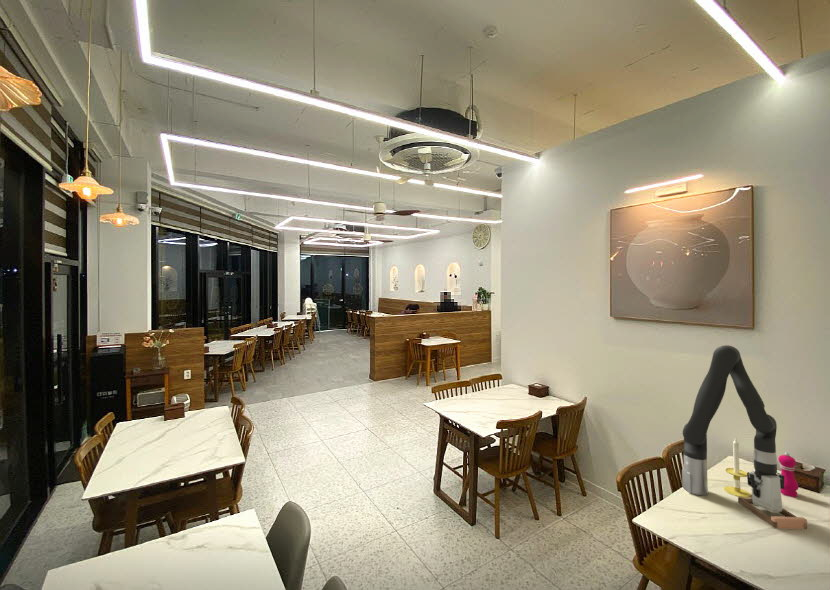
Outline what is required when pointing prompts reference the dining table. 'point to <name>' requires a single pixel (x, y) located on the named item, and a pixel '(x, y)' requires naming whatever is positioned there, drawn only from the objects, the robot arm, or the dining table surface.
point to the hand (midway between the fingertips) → (766, 497)
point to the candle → (736, 474)
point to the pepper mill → (788, 475)
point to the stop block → (790, 522)
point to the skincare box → (769, 493)
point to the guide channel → (748, 503)
